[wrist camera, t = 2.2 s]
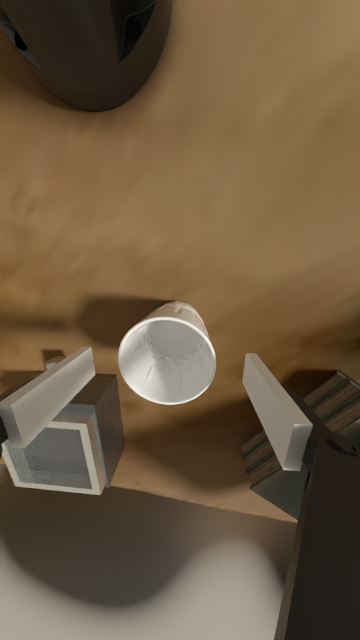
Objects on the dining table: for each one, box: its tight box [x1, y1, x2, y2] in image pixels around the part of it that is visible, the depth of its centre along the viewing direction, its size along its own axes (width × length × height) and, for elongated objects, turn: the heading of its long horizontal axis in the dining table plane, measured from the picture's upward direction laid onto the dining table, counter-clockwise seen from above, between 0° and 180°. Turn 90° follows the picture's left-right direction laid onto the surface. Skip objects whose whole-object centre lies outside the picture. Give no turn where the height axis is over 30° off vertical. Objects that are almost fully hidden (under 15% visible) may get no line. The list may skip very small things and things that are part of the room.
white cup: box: [118, 301, 216, 405], centre depth 18 cm, size 8×8×10 cm
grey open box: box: [0, 356, 125, 495], centre depth 24 cm, size 19×13×8 cm
